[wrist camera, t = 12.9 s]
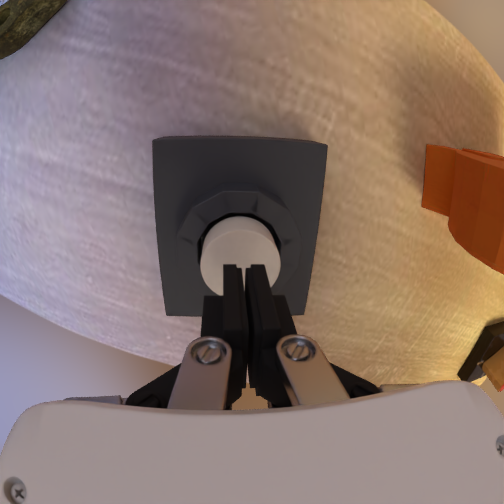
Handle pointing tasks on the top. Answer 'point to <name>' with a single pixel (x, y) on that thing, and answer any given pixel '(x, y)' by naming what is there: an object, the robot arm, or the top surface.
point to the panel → (483, 352)
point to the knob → (495, 369)
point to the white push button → (238, 250)
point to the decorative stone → (23, 22)
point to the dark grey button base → (235, 207)
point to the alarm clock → (468, 199)
